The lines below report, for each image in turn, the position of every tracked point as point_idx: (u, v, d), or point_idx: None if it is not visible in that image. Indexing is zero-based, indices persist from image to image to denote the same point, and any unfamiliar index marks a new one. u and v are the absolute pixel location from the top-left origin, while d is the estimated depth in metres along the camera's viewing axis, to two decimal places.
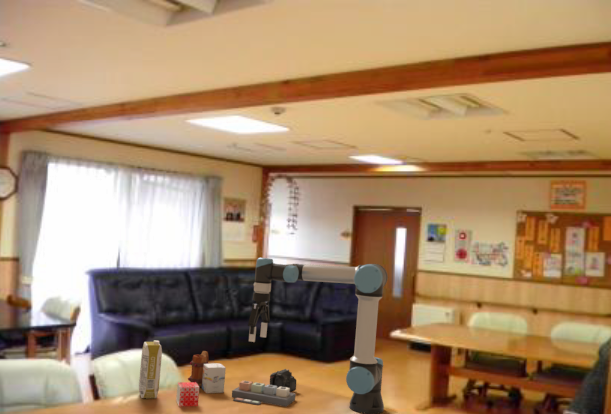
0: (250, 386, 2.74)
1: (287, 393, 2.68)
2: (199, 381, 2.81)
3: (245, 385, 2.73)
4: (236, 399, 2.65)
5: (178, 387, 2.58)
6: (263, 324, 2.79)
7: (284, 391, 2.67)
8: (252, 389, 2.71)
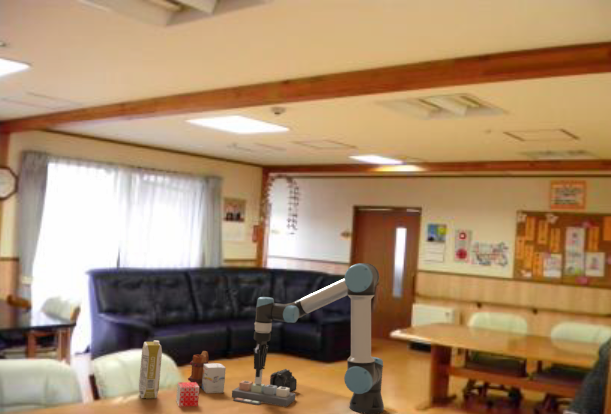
0: (250, 386, 2.74)
1: (287, 393, 2.68)
2: (199, 381, 2.81)
3: (245, 385, 2.73)
4: (236, 399, 2.65)
5: (178, 387, 2.58)
6: None
7: (284, 391, 2.67)
8: (252, 390, 2.71)
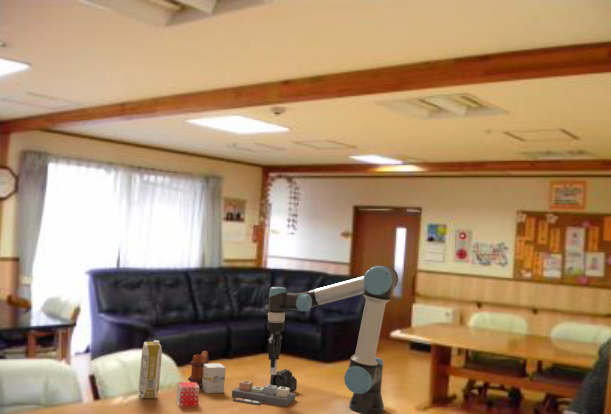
0: (250, 386, 2.74)
1: (287, 393, 2.68)
2: (199, 381, 2.81)
3: (245, 385, 2.73)
4: (236, 399, 2.65)
5: (178, 387, 2.58)
6: None
7: (284, 391, 2.67)
8: None
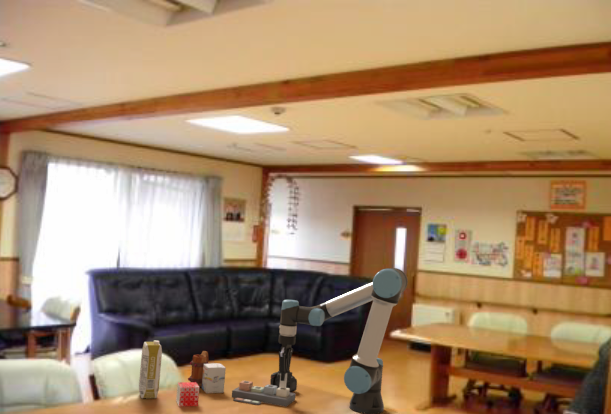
0: (250, 386, 2.74)
1: (287, 393, 2.68)
2: (199, 381, 2.81)
3: (245, 385, 2.73)
4: (236, 399, 2.65)
5: (178, 387, 2.58)
6: None
7: (284, 391, 2.67)
8: None
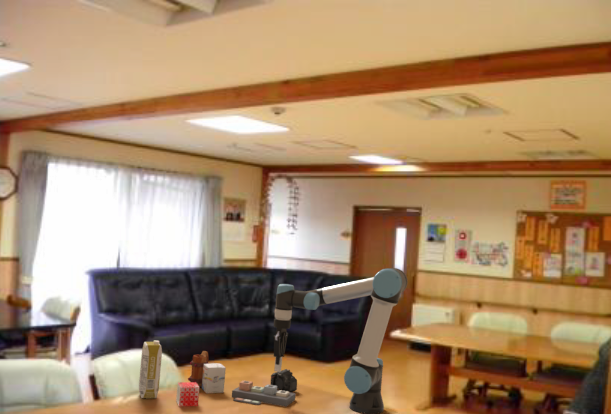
0: (250, 386, 2.74)
1: None
2: (199, 381, 2.81)
3: (245, 385, 2.73)
4: (236, 399, 2.65)
5: (178, 387, 2.58)
6: None
7: (284, 395, 2.67)
8: None
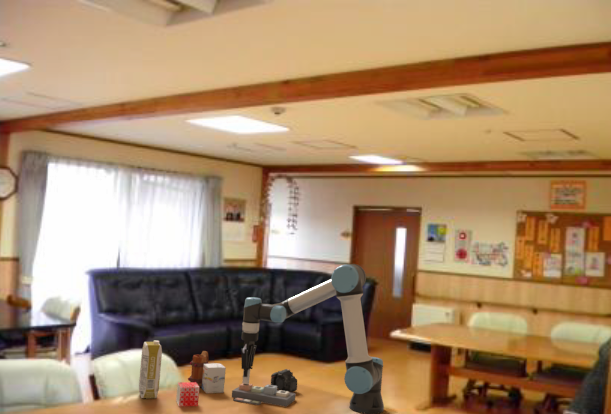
0: (250, 388, 2.74)
1: None
2: (199, 381, 2.81)
3: (245, 387, 2.73)
4: (236, 399, 2.65)
5: (178, 387, 2.58)
6: None
7: (284, 395, 2.67)
8: None
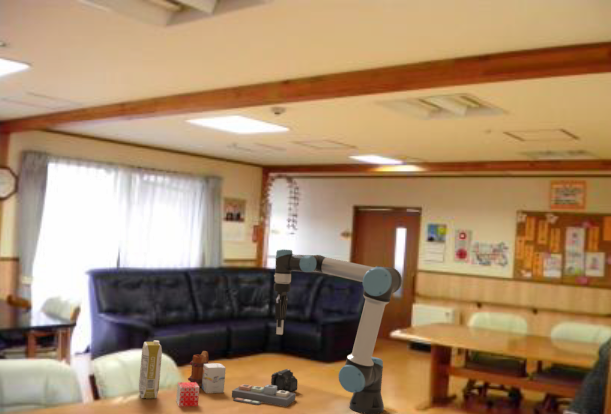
0: None
1: None
2: (199, 381, 2.81)
3: (245, 389, 2.72)
4: (236, 399, 2.65)
5: (178, 387, 2.58)
6: None
7: (284, 395, 2.67)
8: None
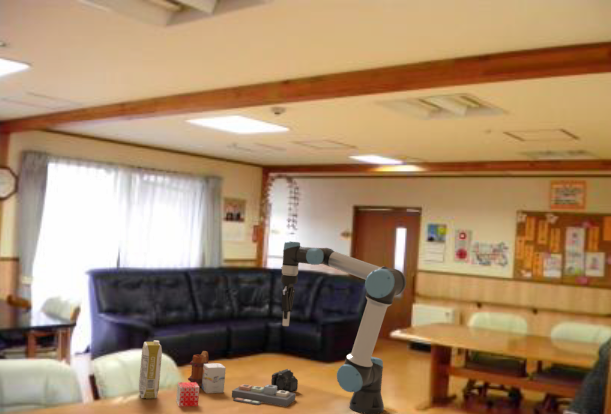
0: None
1: None
2: (199, 381, 2.81)
3: (245, 389, 2.72)
4: (236, 399, 2.65)
5: (178, 387, 2.58)
6: None
7: (284, 395, 2.67)
8: None
